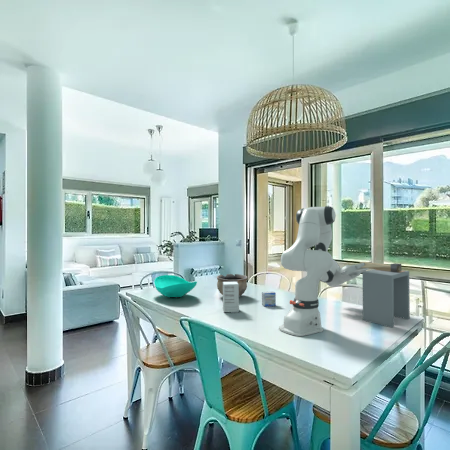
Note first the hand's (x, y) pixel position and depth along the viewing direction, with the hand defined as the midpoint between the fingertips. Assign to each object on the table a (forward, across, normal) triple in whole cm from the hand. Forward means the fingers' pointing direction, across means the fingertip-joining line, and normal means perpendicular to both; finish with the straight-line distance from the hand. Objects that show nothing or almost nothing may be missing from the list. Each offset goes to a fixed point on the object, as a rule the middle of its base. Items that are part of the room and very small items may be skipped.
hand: (368, 263), depth 176 cm
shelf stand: (-4, -5, +31) cm, 32 cm away
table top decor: (-108, -68, -28) cm, 130 cm away
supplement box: (-62, -59, -2) cm, 86 cm away
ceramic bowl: (-85, -36, -15) cm, 94 cm away
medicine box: (-56, -33, +1) cm, 65 cm away
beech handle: (+5, -1, +6) cm, 7 cm away
